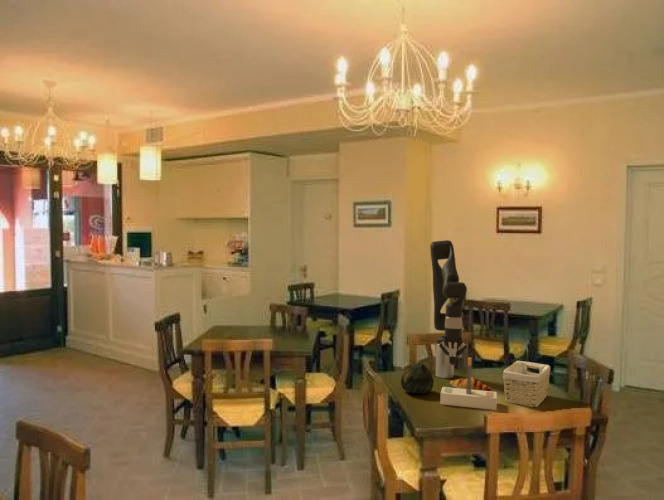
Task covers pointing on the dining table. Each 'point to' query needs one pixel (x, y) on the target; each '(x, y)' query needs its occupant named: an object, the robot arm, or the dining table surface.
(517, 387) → the storage basket
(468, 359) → the lever
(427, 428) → the dining table surface
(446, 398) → the switch block
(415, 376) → the squash
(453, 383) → the croissant
